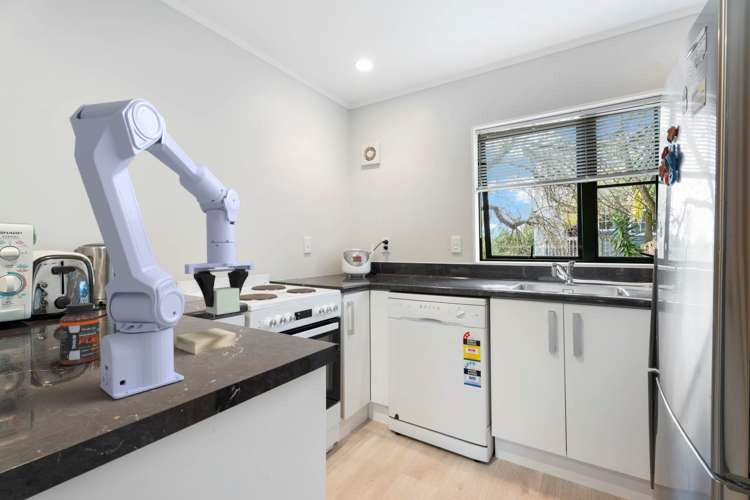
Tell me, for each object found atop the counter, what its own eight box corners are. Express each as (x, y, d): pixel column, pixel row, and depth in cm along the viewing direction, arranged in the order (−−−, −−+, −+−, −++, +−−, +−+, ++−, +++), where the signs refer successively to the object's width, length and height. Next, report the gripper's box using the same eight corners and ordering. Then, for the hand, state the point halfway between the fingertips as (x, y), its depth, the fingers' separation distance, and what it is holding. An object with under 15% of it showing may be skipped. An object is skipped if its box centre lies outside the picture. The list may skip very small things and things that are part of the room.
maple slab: (195, 356, 71) (195, 342, 71) (176, 349, 76) (176, 335, 76) (236, 346, 78) (235, 333, 78) (216, 340, 83) (216, 327, 83)
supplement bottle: (82, 366, 64) (80, 306, 64) (51, 366, 65) (49, 306, 65) (107, 356, 70) (106, 301, 70) (79, 356, 71) (78, 301, 71)
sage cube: (217, 314, 71) (216, 290, 71) (206, 312, 75) (205, 289, 75) (239, 311, 75) (239, 288, 75) (228, 308, 78) (227, 287, 78)
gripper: (194, 242, 67) (196, 311, 67) (261, 242, 78) (262, 301, 78) (179, 243, 71) (181, 308, 71) (244, 243, 82) (245, 299, 83)
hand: (222, 304), depth 75 cm, fingers closed on sage cube, 5 cm apart
